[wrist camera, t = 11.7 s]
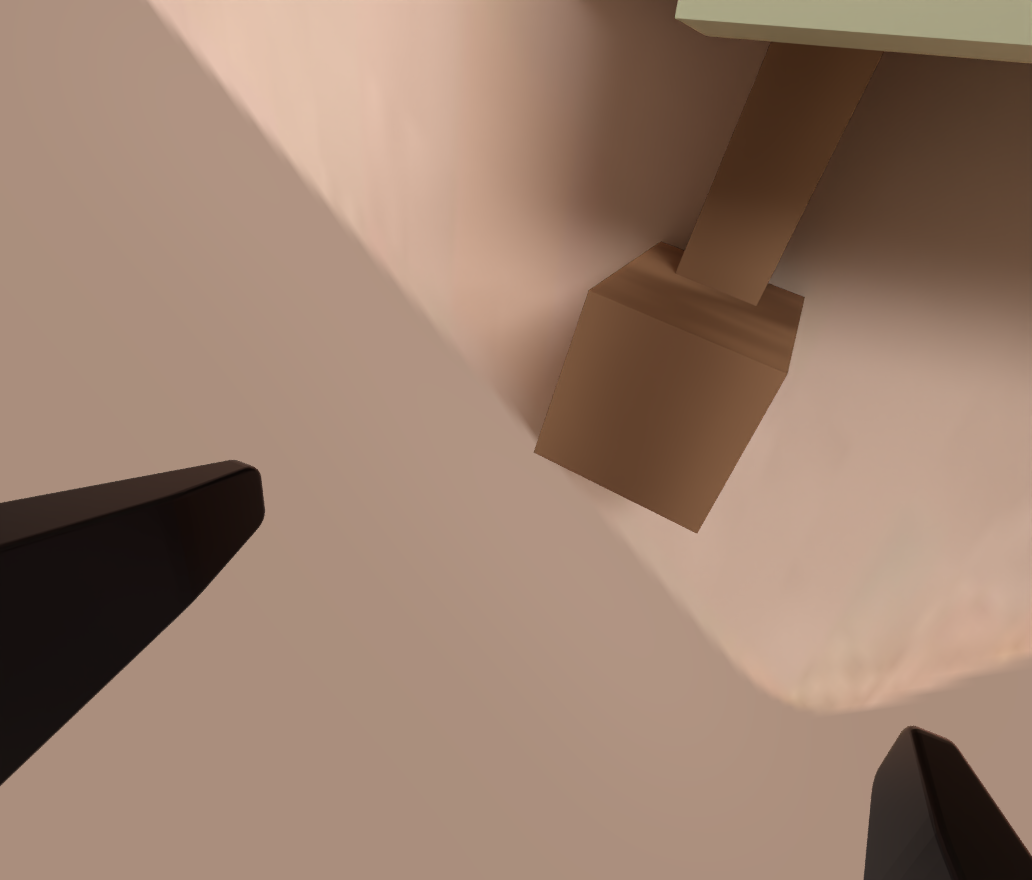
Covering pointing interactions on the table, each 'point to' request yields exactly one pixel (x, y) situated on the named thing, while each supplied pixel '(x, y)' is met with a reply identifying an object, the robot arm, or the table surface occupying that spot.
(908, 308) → the table surface
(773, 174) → the pusher tool
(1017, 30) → the plinth shelf
